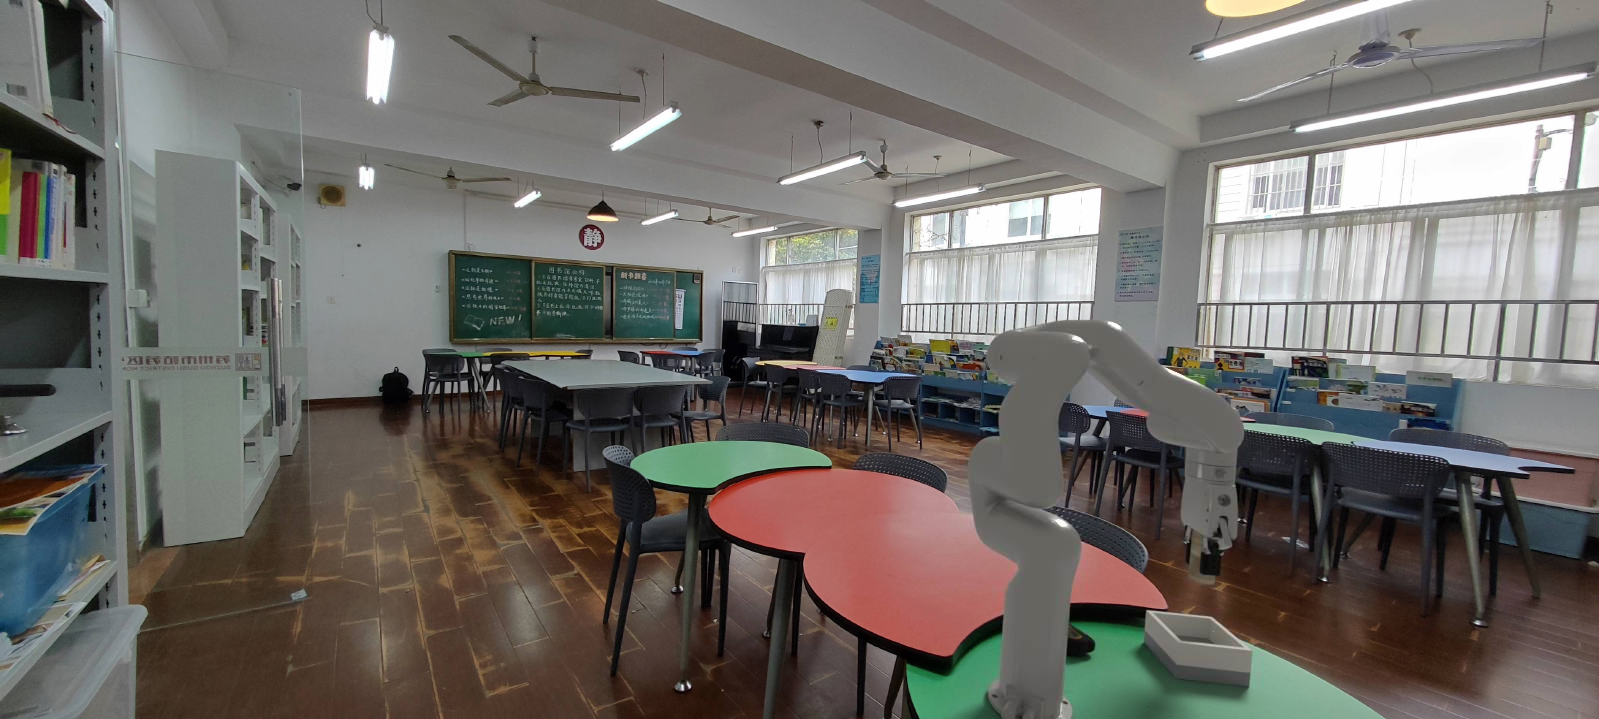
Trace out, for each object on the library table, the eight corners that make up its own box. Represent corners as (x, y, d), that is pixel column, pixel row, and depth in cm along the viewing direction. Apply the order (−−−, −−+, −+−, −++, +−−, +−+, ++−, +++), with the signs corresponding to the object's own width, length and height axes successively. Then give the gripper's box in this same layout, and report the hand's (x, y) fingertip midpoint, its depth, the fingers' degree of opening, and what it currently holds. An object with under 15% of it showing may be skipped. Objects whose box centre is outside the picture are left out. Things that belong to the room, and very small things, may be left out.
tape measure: (1096, 657, 107) (1098, 638, 107) (1067, 662, 105) (1068, 642, 105) (1069, 638, 114) (1070, 619, 113) (1041, 642, 111) (1042, 623, 111)
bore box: (1249, 686, 100) (1252, 650, 99) (1175, 678, 101) (1178, 642, 101) (1208, 649, 112) (1211, 616, 111) (1143, 642, 113) (1146, 610, 113)
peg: (1215, 587, 103) (1220, 532, 102) (1188, 580, 105) (1193, 527, 105) (1214, 579, 106) (1218, 527, 106) (1188, 573, 108) (1192, 522, 108)
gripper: (1263, 485, 96) (1254, 591, 97) (1205, 462, 112) (1198, 553, 113) (1214, 482, 97) (1206, 587, 98) (1164, 460, 113) (1157, 550, 114)
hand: (1202, 568), depth 106 cm, fingers closed on peg, 4 cm apart
